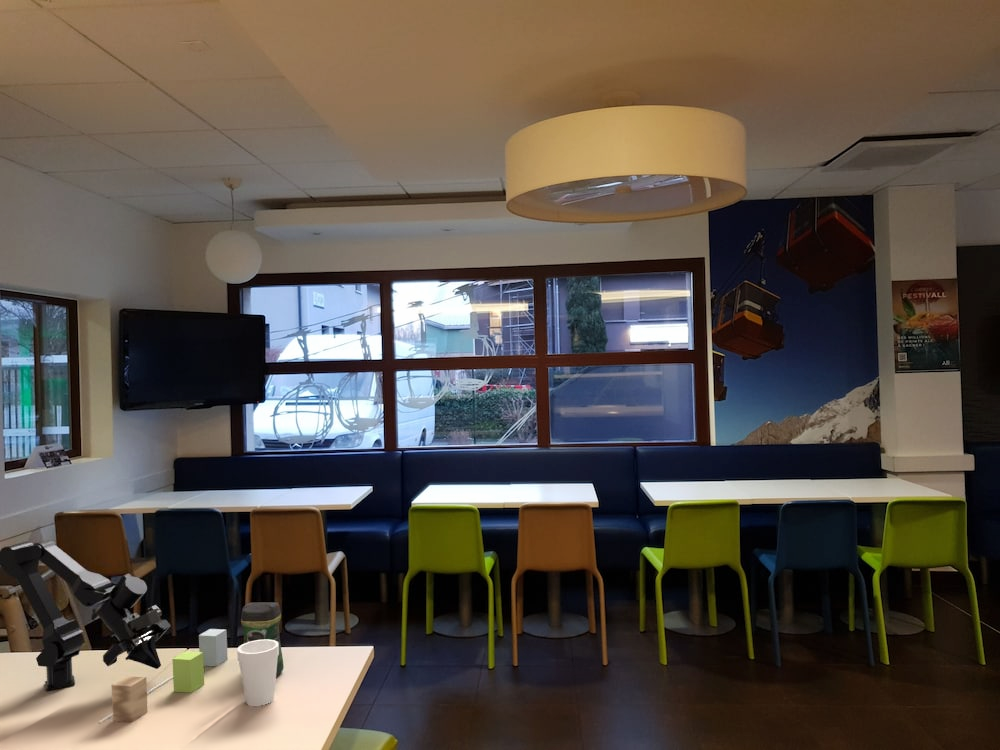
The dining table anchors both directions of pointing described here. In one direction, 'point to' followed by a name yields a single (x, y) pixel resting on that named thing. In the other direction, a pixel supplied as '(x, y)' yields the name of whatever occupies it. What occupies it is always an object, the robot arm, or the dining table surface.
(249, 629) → the coffee jar
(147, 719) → the dining table surface
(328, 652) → the dining table surface
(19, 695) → the dining table surface
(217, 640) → the blue-grey block
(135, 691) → the brown wooden block
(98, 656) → the dining table surface
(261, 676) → the foam cup
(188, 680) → the green block
